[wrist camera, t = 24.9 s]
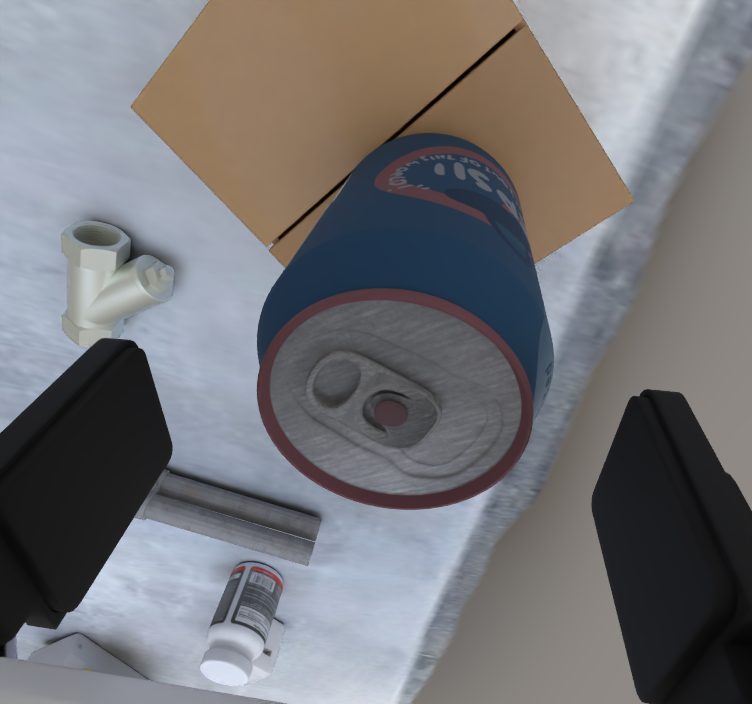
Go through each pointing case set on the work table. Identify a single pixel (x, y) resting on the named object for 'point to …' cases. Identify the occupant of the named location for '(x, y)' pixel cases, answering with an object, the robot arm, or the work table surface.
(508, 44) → the box
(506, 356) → the soda can
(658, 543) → the robot arm
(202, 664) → the pill bottle
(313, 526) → the grey double pipe
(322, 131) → the flap
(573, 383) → the work table surface
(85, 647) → the electrical switch box
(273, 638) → the power adapter
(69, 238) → the pipe fitting
